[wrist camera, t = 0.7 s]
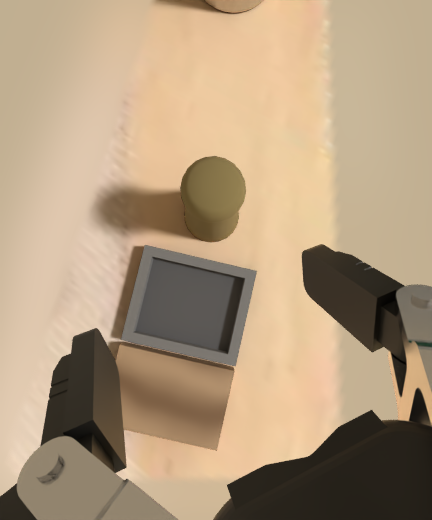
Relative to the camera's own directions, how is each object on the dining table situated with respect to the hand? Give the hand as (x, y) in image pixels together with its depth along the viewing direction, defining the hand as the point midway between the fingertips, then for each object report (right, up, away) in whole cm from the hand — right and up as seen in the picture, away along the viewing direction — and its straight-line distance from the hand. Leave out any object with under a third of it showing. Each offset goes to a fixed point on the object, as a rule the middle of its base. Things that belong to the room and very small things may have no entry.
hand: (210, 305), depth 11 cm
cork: (0, +7, +22) cm, 23 cm away
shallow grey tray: (-3, -3, +21) cm, 22 cm away
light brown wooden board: (-5, -12, +21) cm, 25 cm away
